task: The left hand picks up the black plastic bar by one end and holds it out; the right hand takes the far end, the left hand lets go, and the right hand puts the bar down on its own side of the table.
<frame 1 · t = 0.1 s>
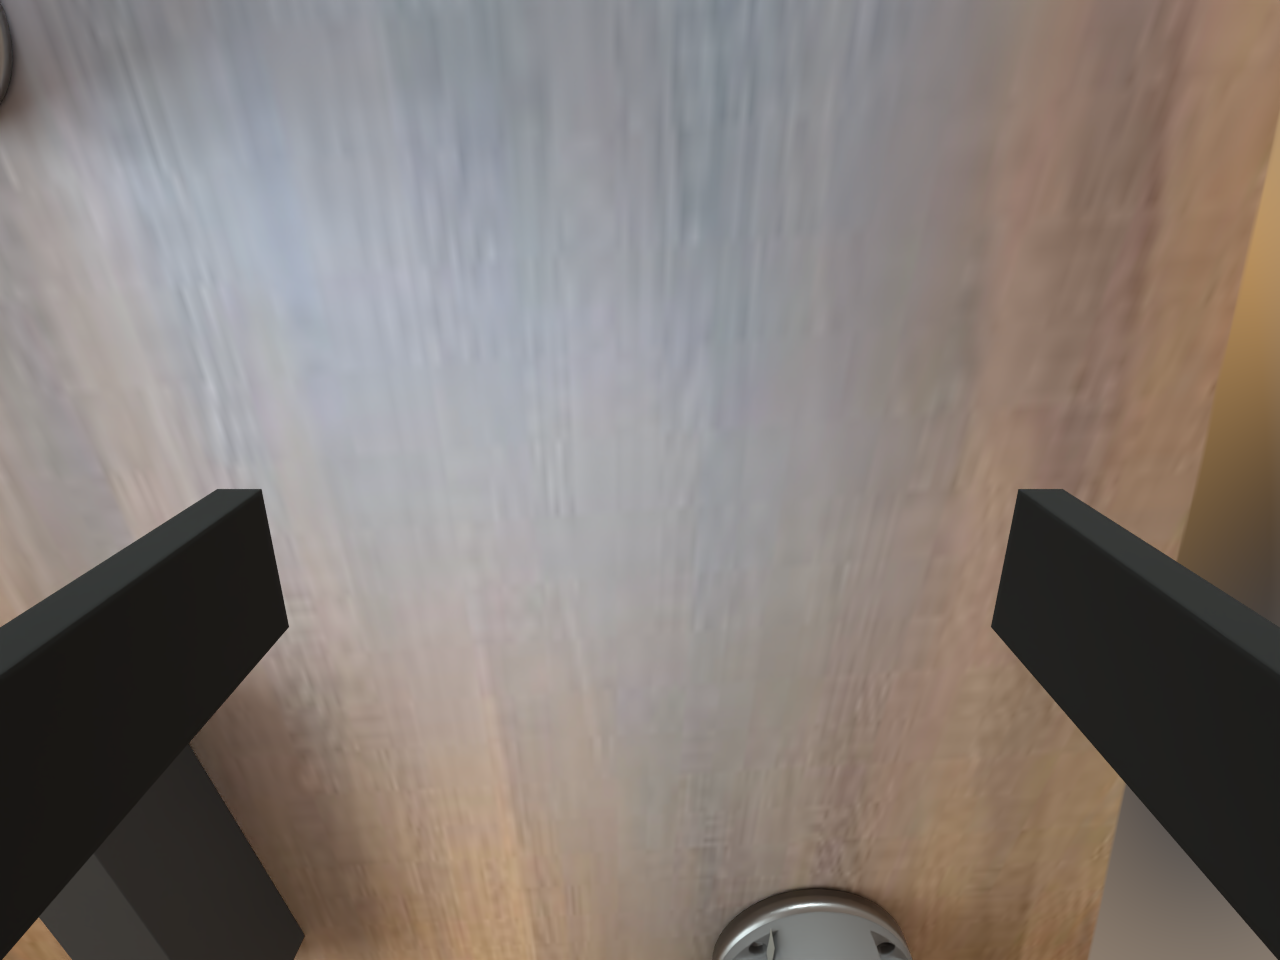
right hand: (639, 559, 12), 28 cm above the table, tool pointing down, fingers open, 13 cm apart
bar: (193, 819, 51), on the table
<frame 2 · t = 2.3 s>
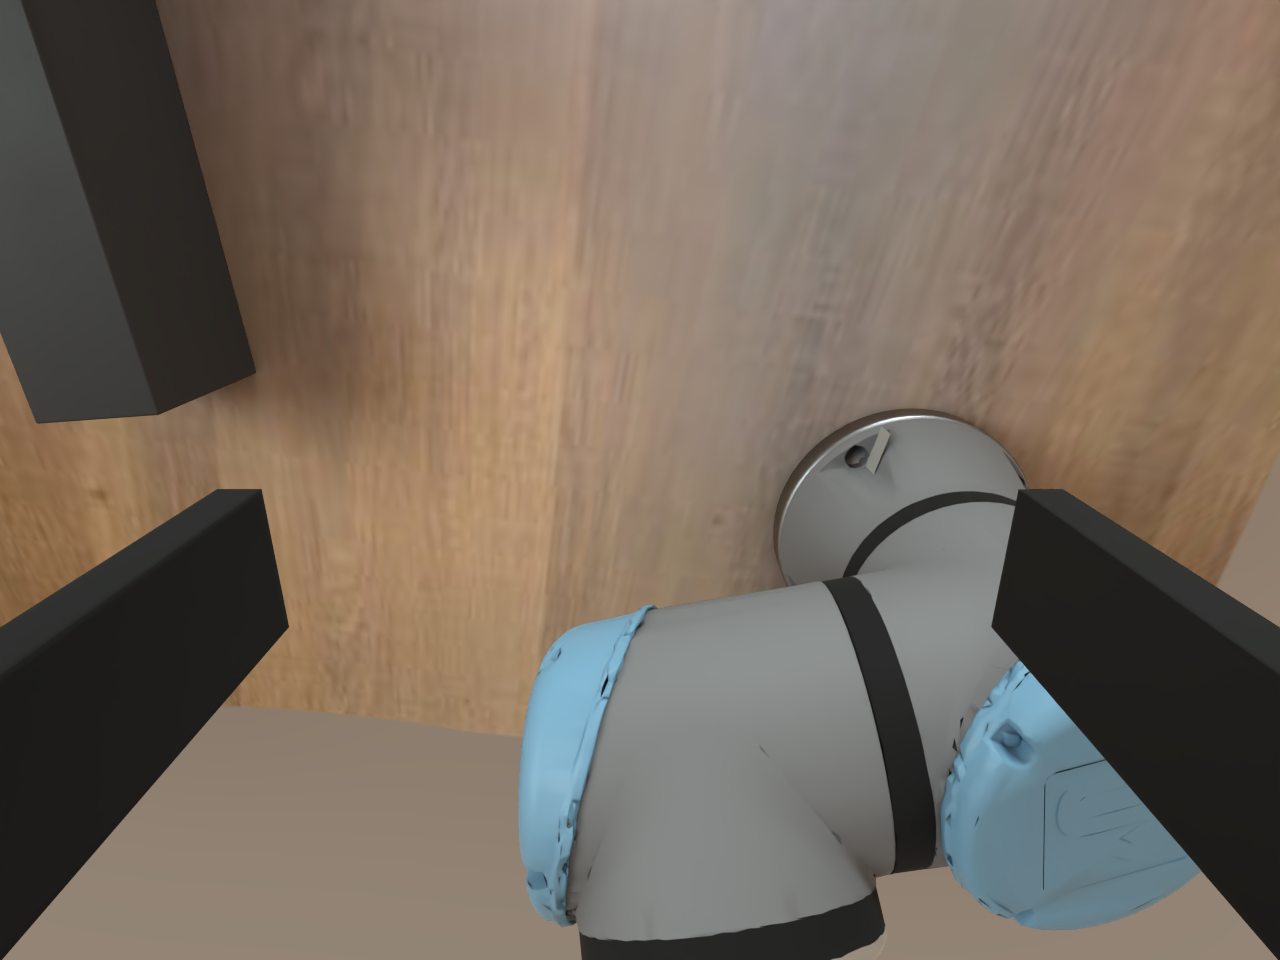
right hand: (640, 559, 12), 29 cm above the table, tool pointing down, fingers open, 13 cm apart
bar: (134, 130, 36), on the table, touching left hand
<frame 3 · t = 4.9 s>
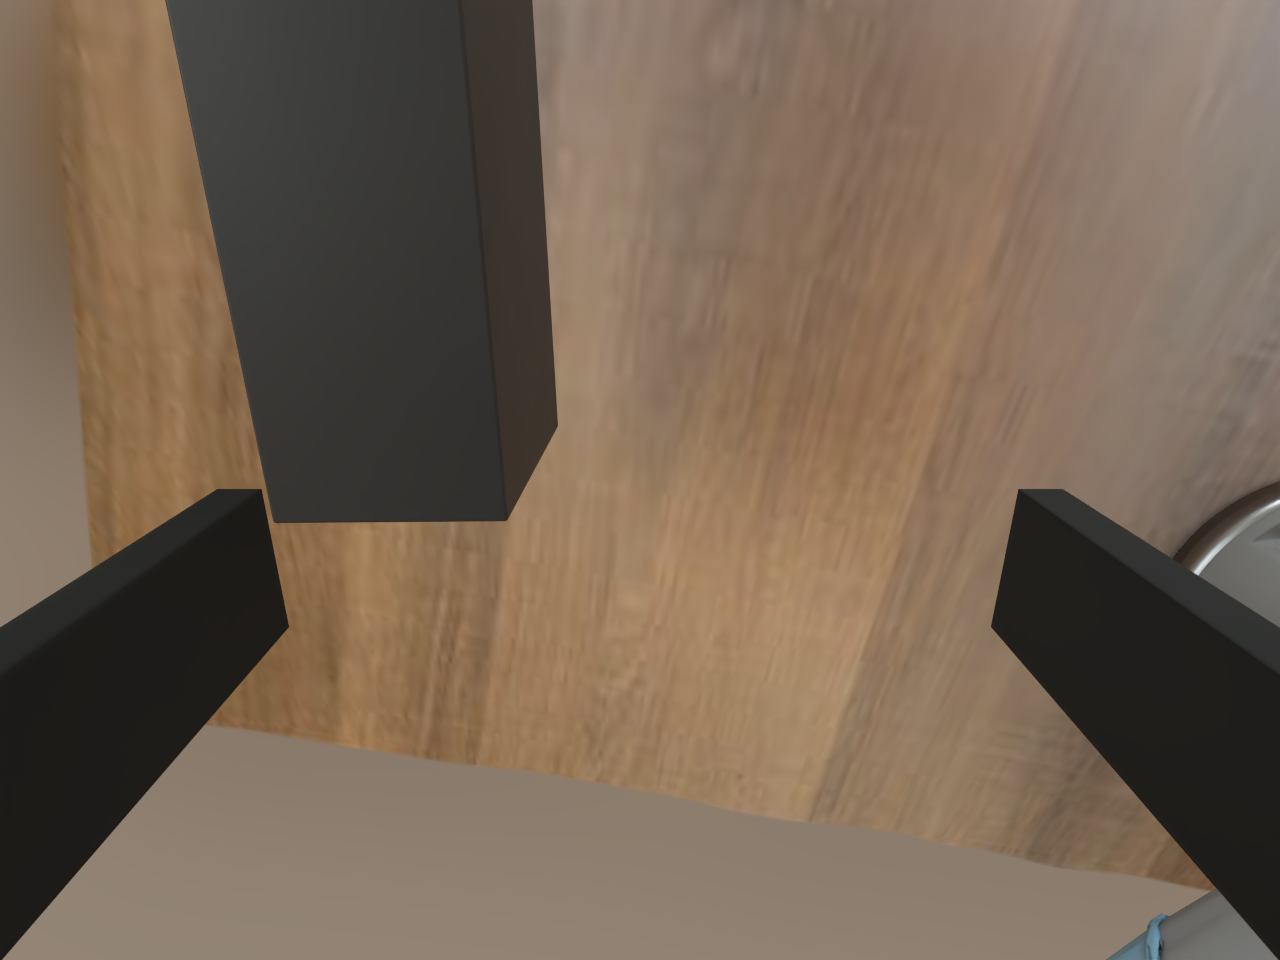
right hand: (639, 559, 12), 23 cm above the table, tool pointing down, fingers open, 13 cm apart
bar: (438, 17, 21), point 10 cm above the table, touching left hand
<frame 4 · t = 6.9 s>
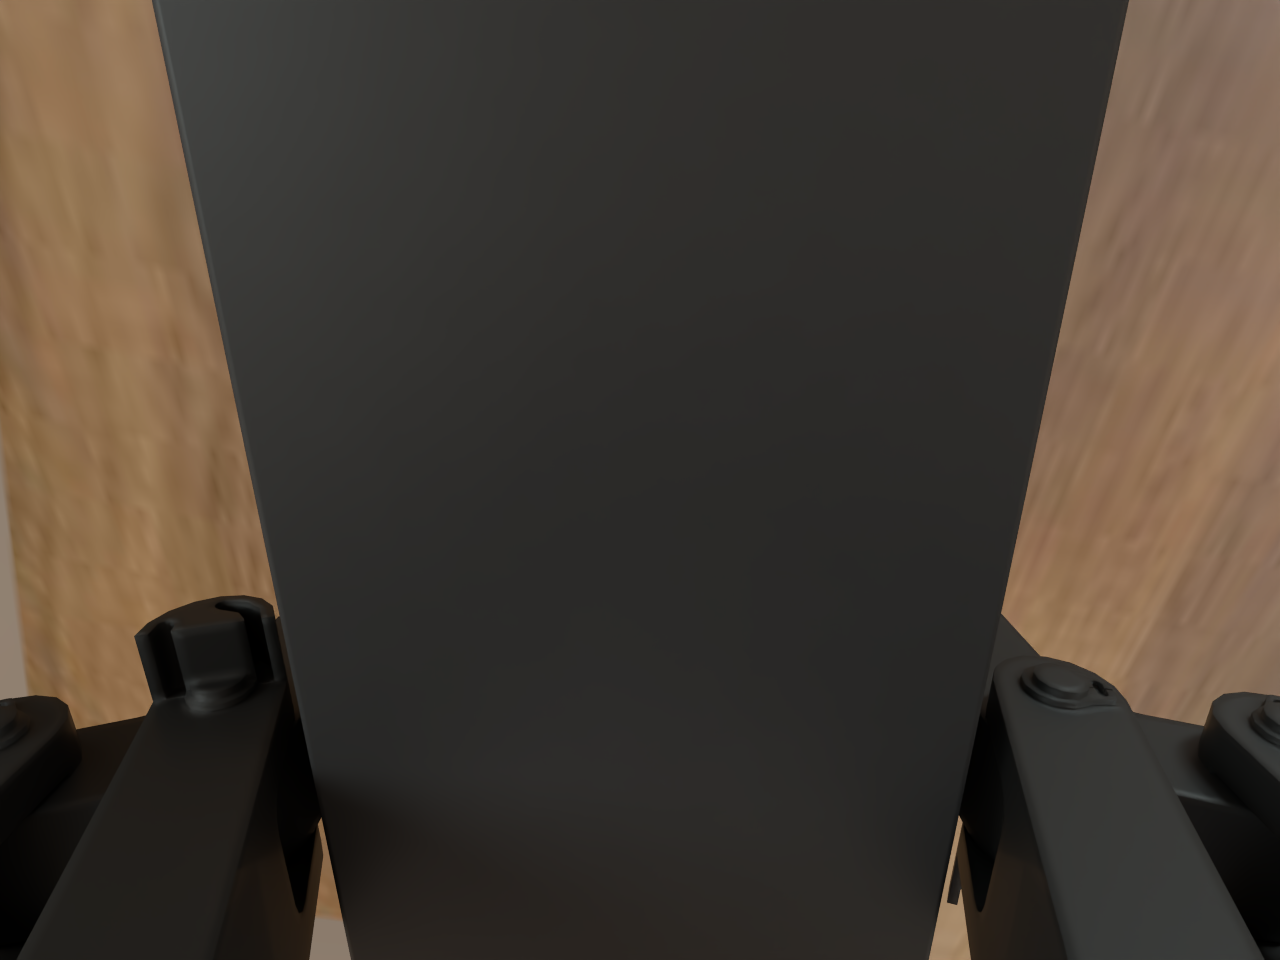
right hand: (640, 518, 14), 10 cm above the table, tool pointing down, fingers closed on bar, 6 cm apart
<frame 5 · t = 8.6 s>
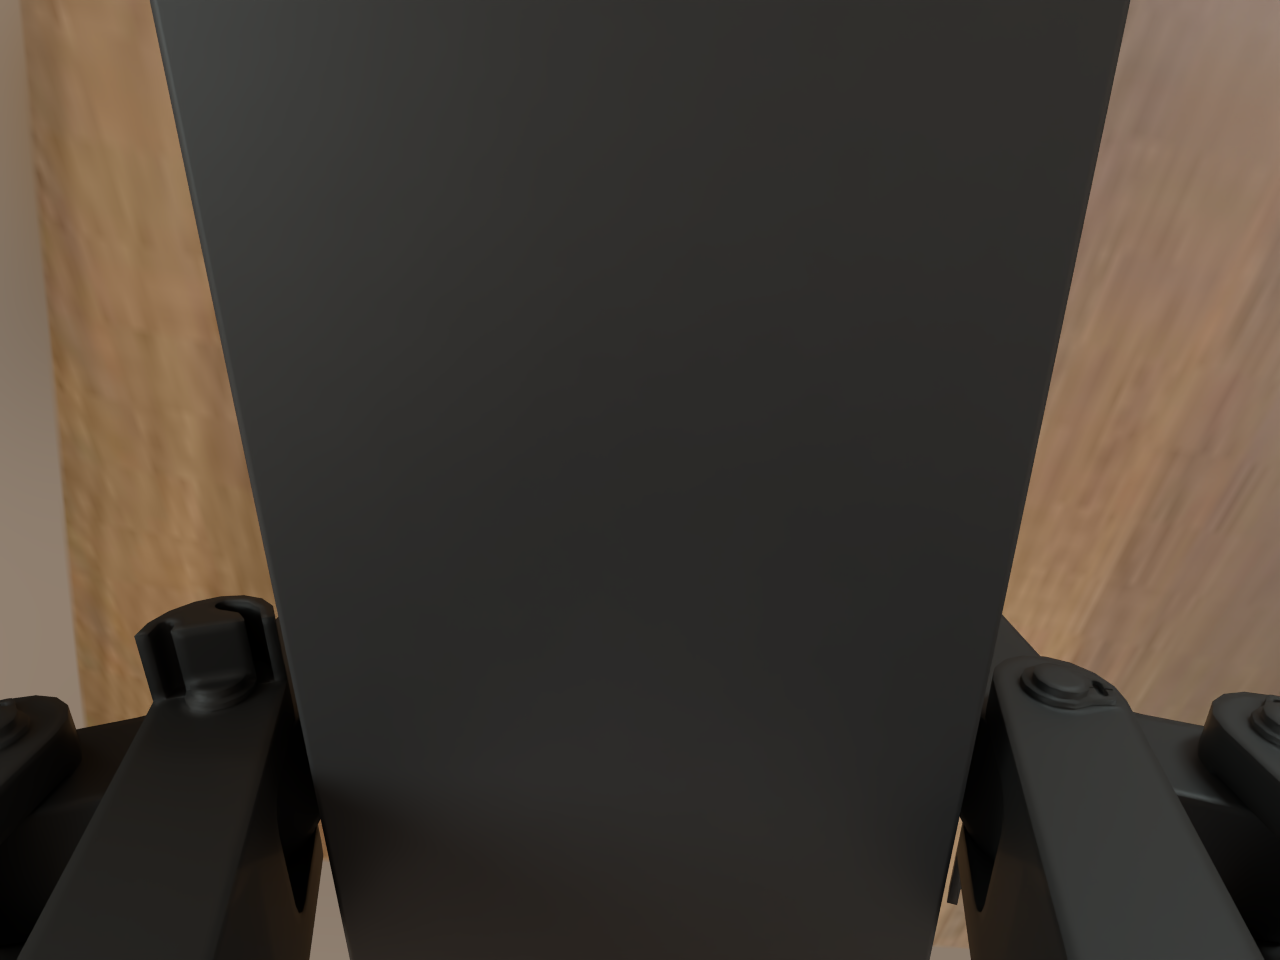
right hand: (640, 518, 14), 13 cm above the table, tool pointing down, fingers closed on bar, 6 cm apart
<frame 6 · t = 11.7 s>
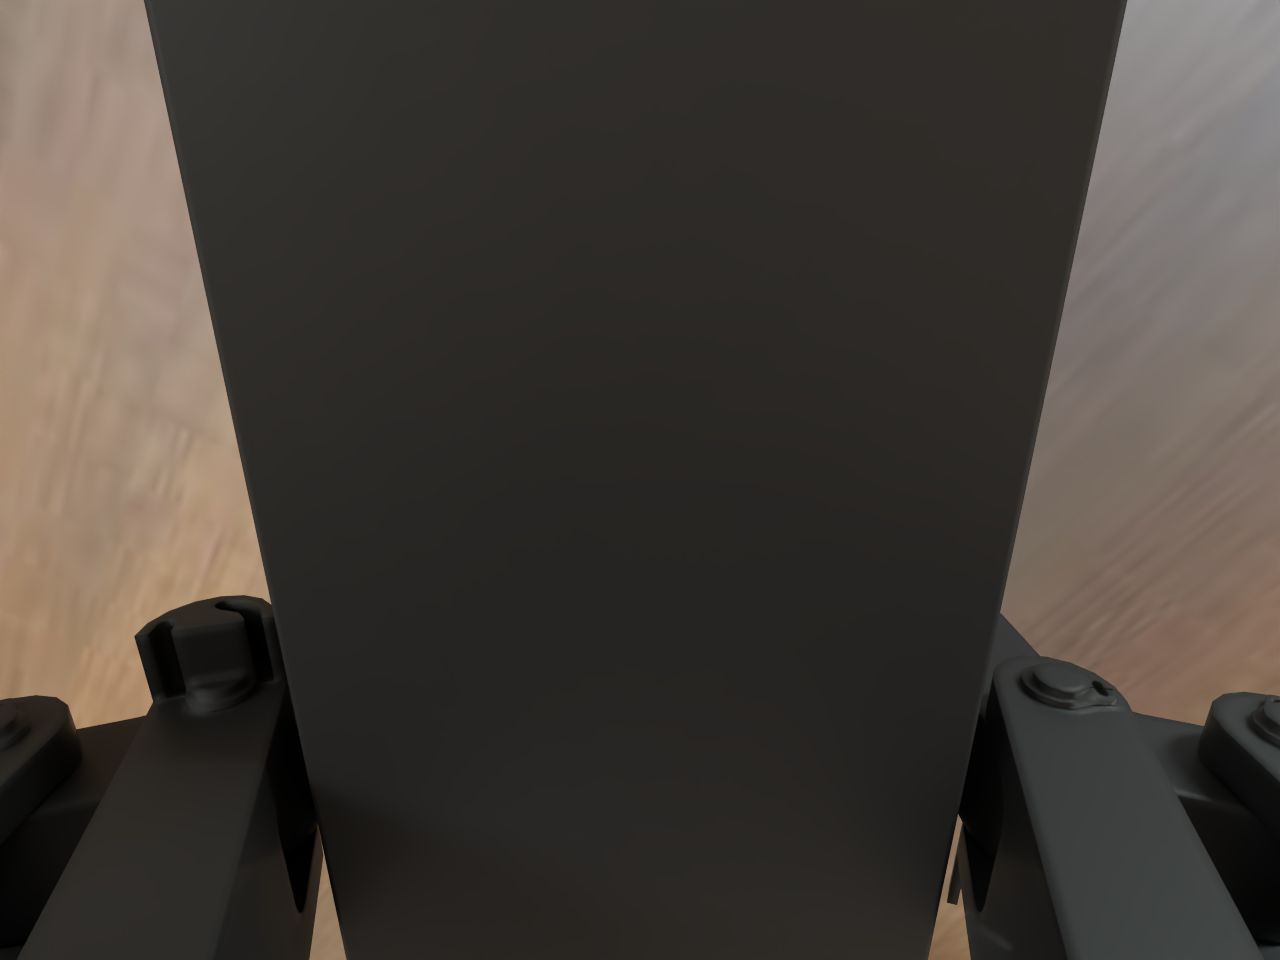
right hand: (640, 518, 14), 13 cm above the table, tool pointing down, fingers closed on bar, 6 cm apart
when the right hand's fingers open (2 cm above the table, at t = 16.4 s): bar drops 2 cm, on the table.
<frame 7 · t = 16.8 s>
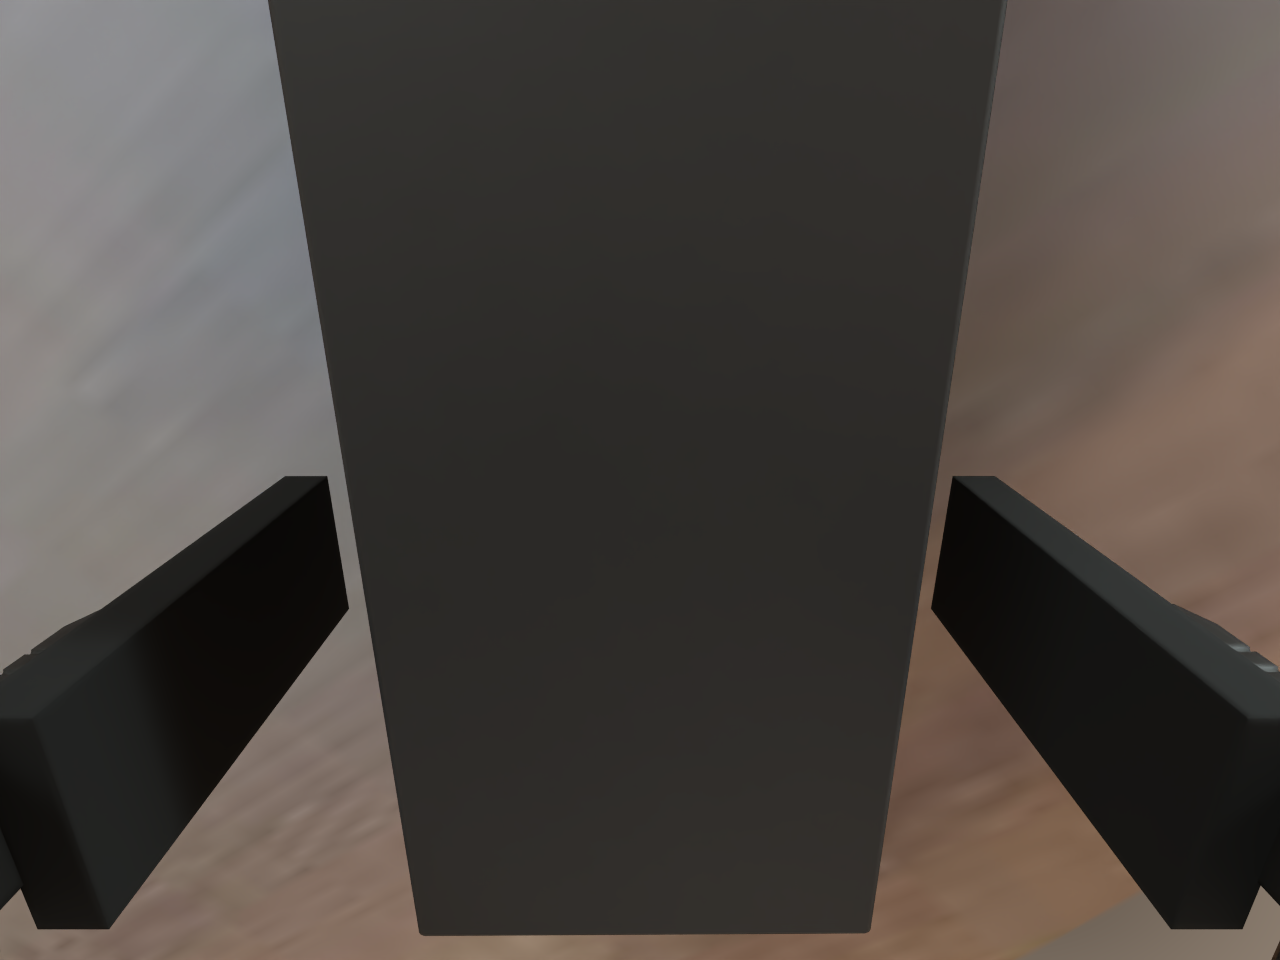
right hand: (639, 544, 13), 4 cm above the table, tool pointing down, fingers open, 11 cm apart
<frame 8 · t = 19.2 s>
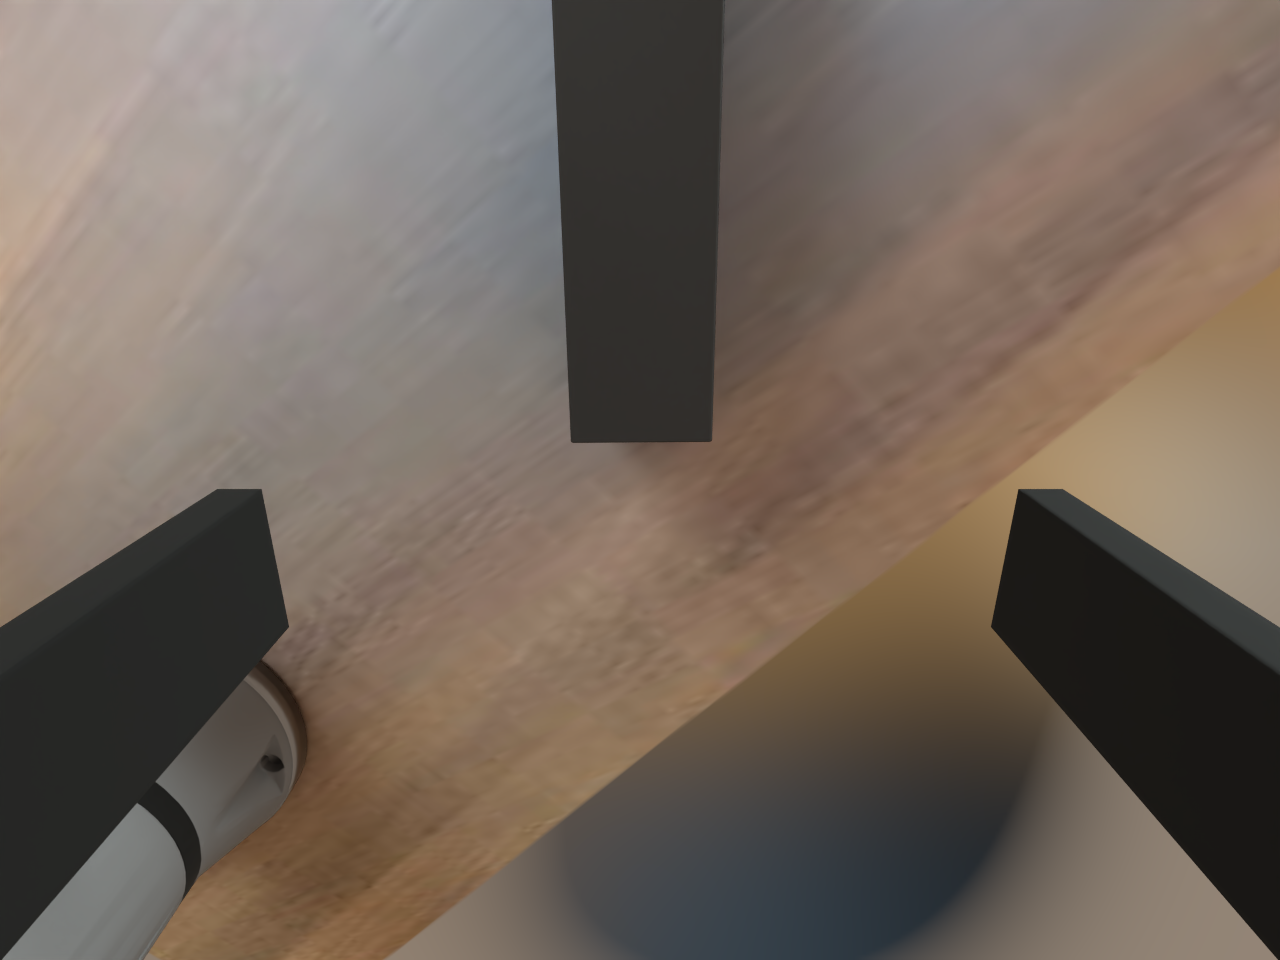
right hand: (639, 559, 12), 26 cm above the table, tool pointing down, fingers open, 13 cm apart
bar: (639, 122, 33), on the table
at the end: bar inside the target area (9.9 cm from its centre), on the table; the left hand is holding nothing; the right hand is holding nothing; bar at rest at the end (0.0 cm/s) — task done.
